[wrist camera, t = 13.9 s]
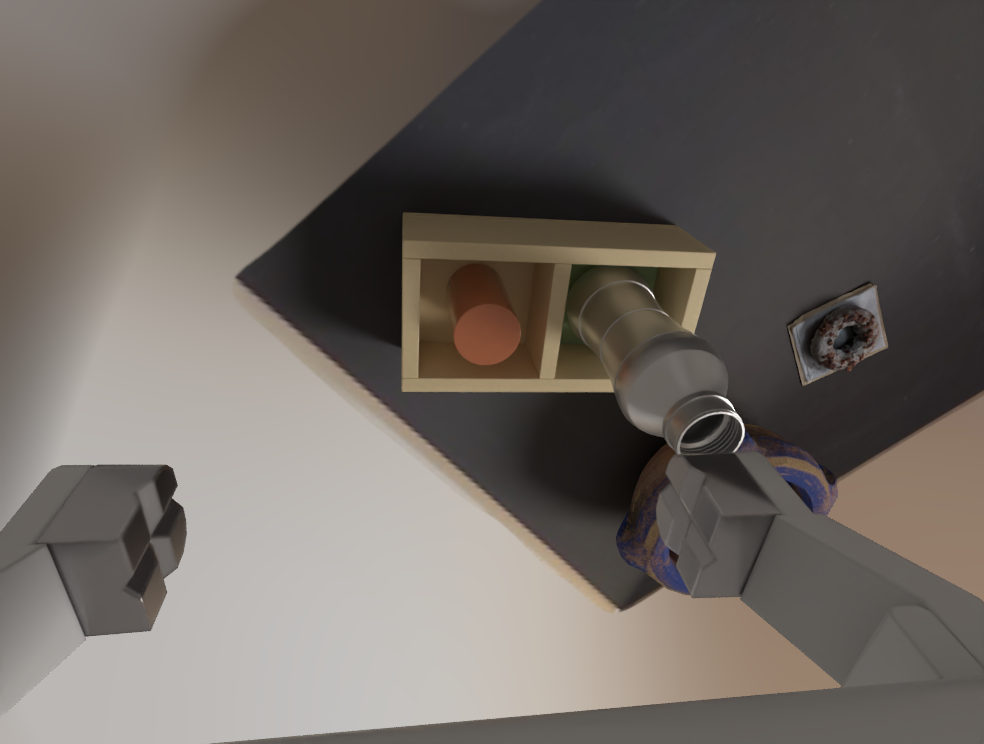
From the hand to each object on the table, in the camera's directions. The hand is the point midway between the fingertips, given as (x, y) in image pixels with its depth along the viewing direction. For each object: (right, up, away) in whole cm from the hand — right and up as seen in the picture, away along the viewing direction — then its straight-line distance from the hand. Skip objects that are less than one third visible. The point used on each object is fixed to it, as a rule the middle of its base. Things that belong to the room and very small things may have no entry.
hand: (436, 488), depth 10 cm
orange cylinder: (0, +8, +36) cm, 37 cm away
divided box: (+5, +9, +38) cm, 39 cm away
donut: (+33, +5, +44) cm, 55 cm away
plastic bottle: (+10, +8, +38) cm, 40 cm away
